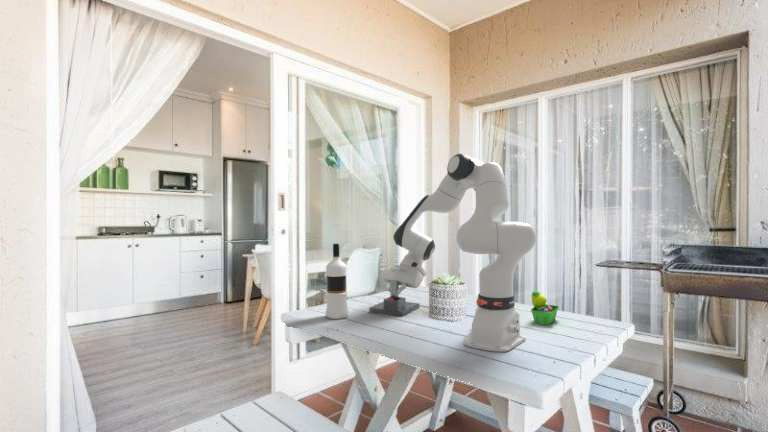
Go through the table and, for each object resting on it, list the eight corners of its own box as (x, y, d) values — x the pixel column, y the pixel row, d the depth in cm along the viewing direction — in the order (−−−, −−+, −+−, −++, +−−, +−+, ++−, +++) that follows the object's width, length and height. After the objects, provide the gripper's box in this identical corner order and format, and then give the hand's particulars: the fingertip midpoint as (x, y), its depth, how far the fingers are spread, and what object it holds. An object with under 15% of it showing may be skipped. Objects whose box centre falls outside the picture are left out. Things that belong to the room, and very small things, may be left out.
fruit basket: (551, 326, 149) (551, 295, 149) (527, 322, 154) (526, 292, 154) (559, 319, 158) (559, 290, 158) (536, 315, 163) (535, 287, 163)
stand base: (402, 316, 165) (402, 302, 165) (369, 312, 173) (369, 298, 173) (419, 307, 179) (419, 294, 179) (387, 304, 187) (387, 291, 187)
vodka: (336, 321, 160) (334, 245, 160) (321, 317, 166) (319, 243, 166) (353, 316, 167) (352, 243, 166) (338, 312, 173) (337, 242, 173)
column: (396, 306, 173) (396, 282, 173) (388, 305, 175) (388, 281, 175) (400, 304, 177) (400, 280, 176) (392, 303, 179) (392, 279, 178)
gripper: (390, 260, 188) (374, 284, 182) (422, 264, 172) (405, 291, 166) (397, 269, 191) (382, 292, 185) (429, 274, 175) (413, 300, 169)
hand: (393, 292), depth 175 cm, fingers closed on column, 4 cm apart
